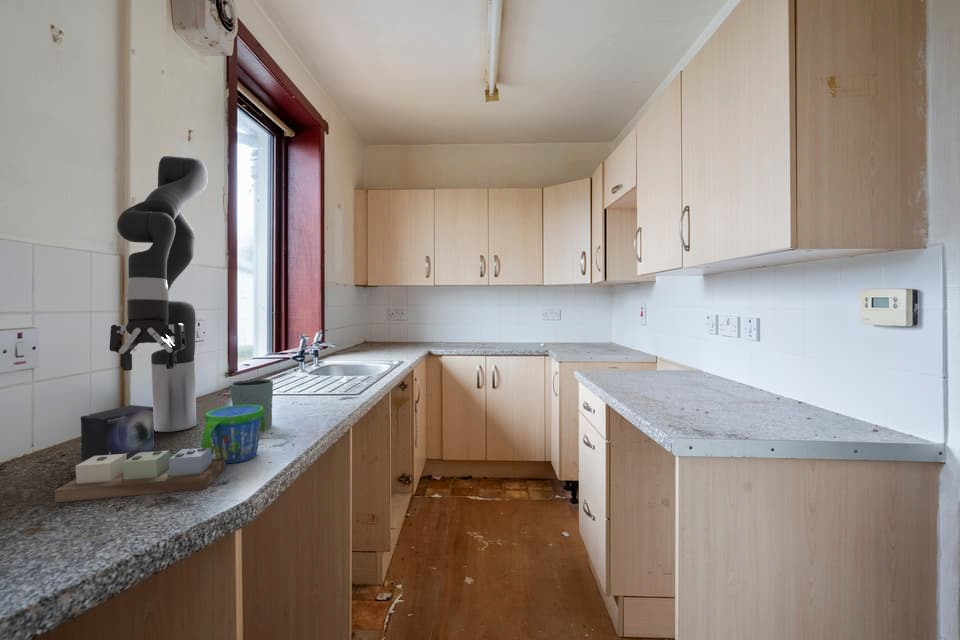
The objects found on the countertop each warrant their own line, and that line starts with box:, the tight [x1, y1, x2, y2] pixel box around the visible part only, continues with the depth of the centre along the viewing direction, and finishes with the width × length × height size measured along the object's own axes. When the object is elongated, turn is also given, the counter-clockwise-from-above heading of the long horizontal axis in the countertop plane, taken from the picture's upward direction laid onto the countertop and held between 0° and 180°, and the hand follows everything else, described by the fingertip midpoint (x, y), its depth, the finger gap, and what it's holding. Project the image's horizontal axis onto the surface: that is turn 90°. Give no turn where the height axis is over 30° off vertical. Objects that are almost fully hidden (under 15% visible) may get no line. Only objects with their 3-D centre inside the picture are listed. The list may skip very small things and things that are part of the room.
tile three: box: [169, 447, 213, 476], centre depth 80 cm, size 5×5×4 cm
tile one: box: [75, 454, 127, 484], centre depth 77 cm, size 5×5×4 cm
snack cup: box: [200, 405, 267, 464], centre depth 91 cm, size 16×10×10 cm
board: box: [54, 458, 226, 503], centre depth 79 cm, size 10×22×2 cm, turn 102°
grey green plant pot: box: [229, 378, 274, 429], centre depth 115 cm, size 10×10×12 cm
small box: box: [80, 404, 155, 463], centre depth 91 cm, size 11×6×10 cm, turn 168°
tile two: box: [123, 450, 171, 480], centre depth 79 cm, size 5×5×4 cm
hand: (148, 369), depth 100 cm, fingers open, 8 cm apart
